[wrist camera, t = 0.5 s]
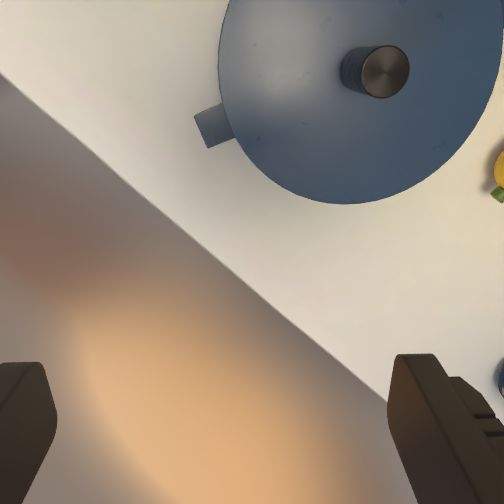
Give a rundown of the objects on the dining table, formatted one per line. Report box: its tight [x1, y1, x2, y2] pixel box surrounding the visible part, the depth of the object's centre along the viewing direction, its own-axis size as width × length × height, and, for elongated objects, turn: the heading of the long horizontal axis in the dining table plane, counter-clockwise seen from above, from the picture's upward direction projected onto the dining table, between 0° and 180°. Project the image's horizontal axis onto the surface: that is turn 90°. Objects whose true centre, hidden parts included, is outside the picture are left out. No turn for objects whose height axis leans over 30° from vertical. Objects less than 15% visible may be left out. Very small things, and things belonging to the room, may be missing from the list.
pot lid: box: [218, 0, 503, 204], centre depth 25 cm, size 18×18×7 cm
